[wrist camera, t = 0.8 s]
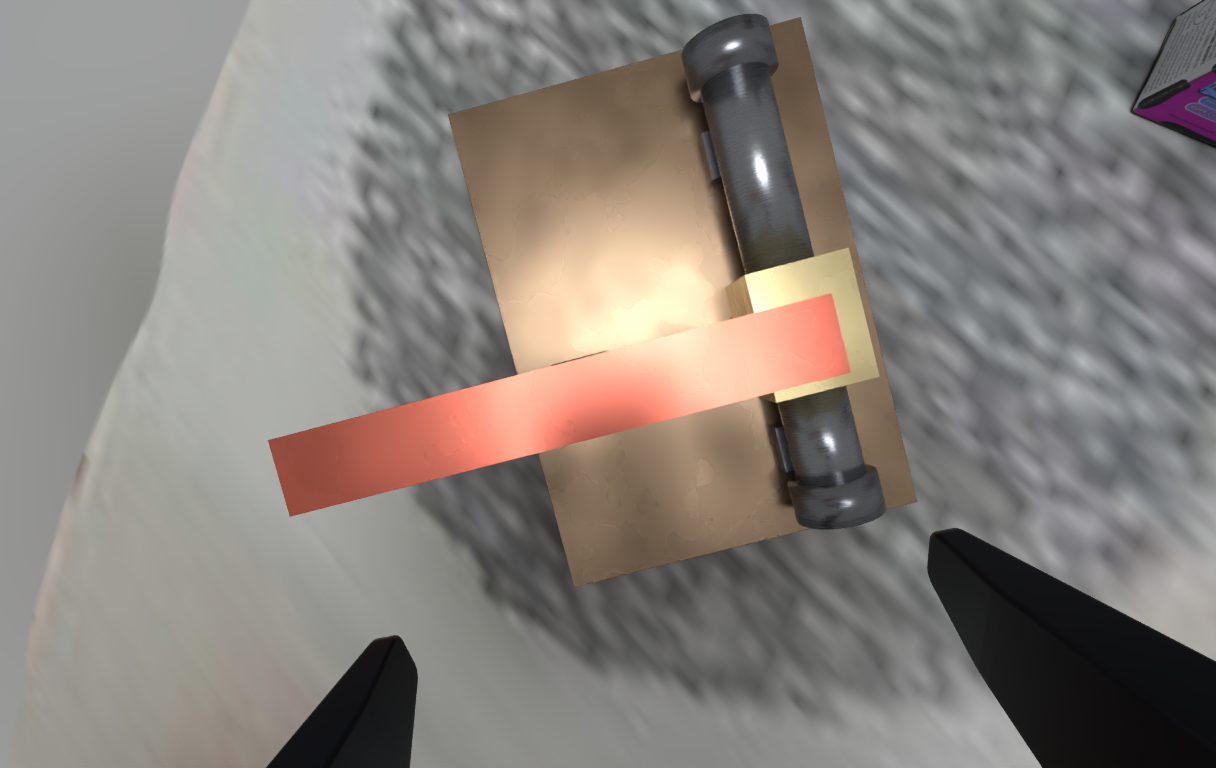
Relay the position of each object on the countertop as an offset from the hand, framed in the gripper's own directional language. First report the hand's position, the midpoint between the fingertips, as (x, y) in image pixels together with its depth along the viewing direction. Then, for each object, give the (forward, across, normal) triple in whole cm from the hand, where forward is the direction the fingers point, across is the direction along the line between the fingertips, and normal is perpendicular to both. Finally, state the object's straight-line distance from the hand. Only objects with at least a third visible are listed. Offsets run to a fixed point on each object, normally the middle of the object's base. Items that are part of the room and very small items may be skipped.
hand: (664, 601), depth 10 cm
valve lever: (+16, +2, +4) cm, 16 cm away
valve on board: (+19, -3, +2) cm, 19 cm away
